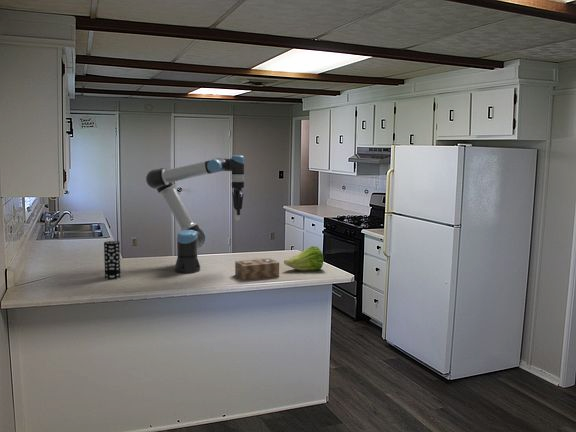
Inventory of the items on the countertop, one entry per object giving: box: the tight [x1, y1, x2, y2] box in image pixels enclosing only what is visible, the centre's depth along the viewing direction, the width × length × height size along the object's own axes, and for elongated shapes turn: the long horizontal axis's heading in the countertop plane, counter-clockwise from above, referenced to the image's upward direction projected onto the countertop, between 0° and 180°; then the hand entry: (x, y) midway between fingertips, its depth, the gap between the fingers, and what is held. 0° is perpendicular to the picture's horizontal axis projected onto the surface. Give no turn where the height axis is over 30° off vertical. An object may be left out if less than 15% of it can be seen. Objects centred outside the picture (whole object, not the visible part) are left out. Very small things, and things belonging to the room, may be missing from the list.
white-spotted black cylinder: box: [103, 240, 122, 280], centre depth 299 cm, size 8×8×20 cm
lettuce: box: [283, 245, 324, 272], centre depth 325 cm, size 14×24×15 cm
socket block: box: [234, 257, 280, 281], centre depth 310 cm, size 22×13×8 cm, turn 117°
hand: (237, 220), depth 325 cm, fingers closed
